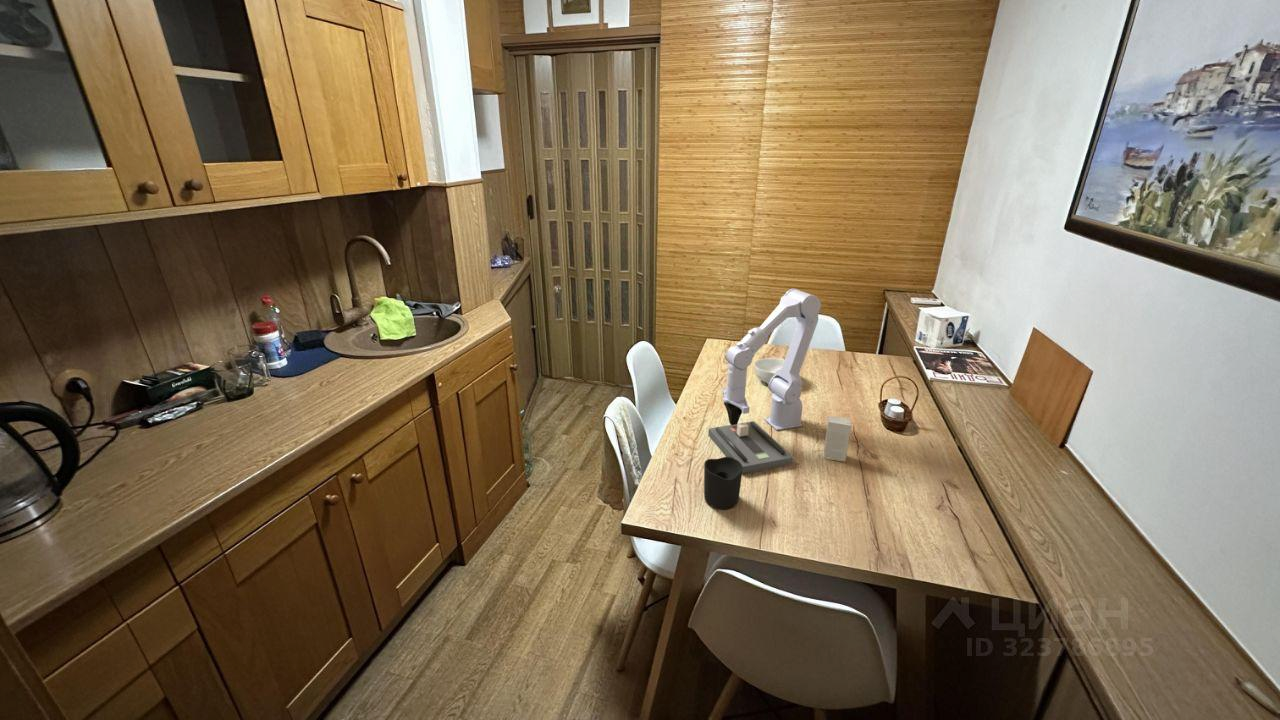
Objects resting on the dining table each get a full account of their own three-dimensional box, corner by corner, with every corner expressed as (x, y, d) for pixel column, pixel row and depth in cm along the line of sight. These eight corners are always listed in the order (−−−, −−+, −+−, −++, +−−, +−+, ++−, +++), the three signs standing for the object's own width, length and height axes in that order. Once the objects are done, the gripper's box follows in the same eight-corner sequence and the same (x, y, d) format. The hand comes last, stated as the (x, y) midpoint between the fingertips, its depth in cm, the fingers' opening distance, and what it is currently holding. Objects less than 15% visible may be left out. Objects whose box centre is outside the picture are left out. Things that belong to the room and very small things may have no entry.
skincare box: (844, 454, 145) (851, 418, 140) (845, 462, 141) (851, 425, 136) (823, 451, 146) (828, 415, 142) (822, 458, 143) (828, 422, 138)
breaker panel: (753, 427, 159) (754, 417, 158) (792, 464, 140) (793, 453, 138) (708, 435, 155) (708, 425, 154) (741, 474, 135) (742, 463, 134)
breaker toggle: (744, 432, 151) (745, 422, 150) (748, 435, 149) (748, 426, 148) (736, 433, 150) (737, 424, 149) (739, 436, 149) (740, 427, 147)
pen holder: (732, 515, 120) (735, 481, 116) (696, 503, 124) (698, 470, 120) (744, 494, 127) (747, 461, 124) (710, 484, 132) (712, 452, 128)
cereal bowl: (802, 378, 195) (804, 362, 193) (790, 394, 182) (792, 377, 180) (761, 370, 204) (762, 354, 201) (746, 384, 191) (747, 367, 188)
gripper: (714, 376, 155) (712, 415, 160) (735, 396, 142) (732, 436, 148) (734, 374, 157) (731, 412, 162) (757, 392, 144) (753, 433, 149)
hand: (733, 423), depth 155 cm, fingers closed
